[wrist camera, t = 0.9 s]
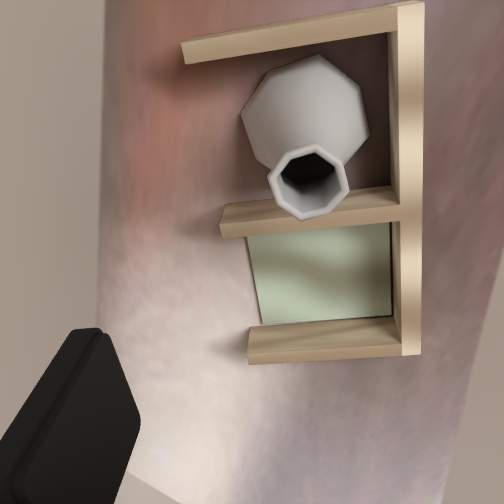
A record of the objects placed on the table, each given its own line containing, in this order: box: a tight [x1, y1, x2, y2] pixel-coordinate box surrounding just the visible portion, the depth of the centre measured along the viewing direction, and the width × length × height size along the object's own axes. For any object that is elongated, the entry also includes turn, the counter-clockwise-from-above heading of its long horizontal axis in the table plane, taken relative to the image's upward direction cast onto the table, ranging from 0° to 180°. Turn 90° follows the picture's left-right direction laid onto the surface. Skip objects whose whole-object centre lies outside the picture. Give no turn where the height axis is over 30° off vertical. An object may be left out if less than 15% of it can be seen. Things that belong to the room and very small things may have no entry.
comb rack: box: [181, 0, 424, 365], centre depth 29 cm, size 21×12×3 cm, turn 9°
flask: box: [240, 54, 370, 222], centre depth 24 cm, size 7×7×10 cm
